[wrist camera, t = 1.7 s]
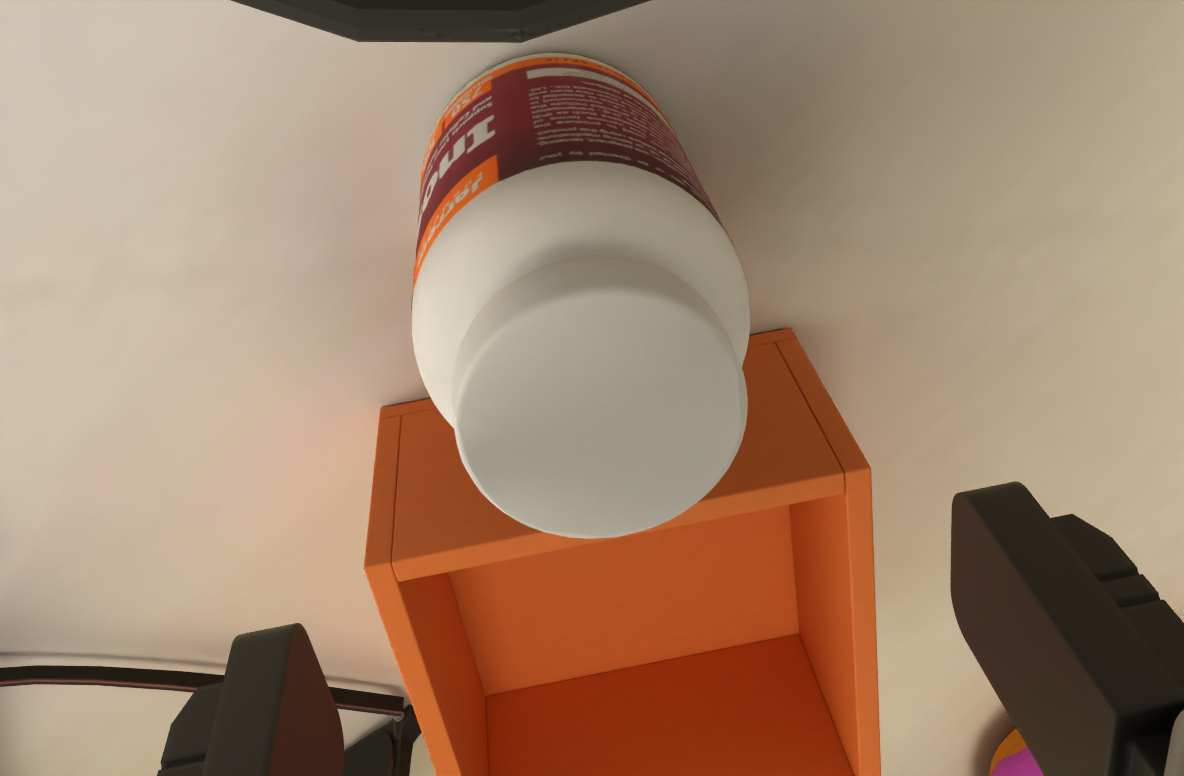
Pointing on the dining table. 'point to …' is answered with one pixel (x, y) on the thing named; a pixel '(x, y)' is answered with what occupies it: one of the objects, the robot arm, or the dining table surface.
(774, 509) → the bin
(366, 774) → the sunglasses
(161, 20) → the dining table surface
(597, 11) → the coffee cup
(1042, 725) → the robot arm
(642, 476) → the pill bottle
